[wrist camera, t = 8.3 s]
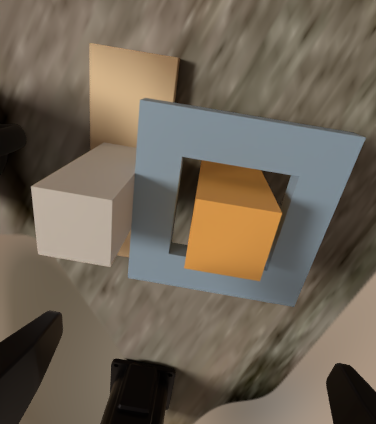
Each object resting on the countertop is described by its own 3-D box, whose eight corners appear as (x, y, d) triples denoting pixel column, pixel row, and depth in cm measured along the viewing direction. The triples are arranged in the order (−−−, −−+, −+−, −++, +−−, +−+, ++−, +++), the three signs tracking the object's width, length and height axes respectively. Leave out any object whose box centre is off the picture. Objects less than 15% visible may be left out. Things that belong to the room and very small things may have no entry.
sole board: (156, 254, 23) (154, 261, 22) (95, 243, 23) (90, 250, 22) (179, 58, 16) (178, 57, 16) (96, 44, 17) (89, 43, 16)
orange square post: (243, 208, 20) (259, 281, 13) (194, 200, 20) (183, 268, 13) (256, 160, 19) (282, 213, 12) (203, 151, 19) (195, 198, 12)
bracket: (278, 261, 21) (311, 358, 14) (102, 230, 21) (44, 311, 14) (327, 122, 16) (415, 157, 9) (104, 84, 17) (20, 91, 9)
